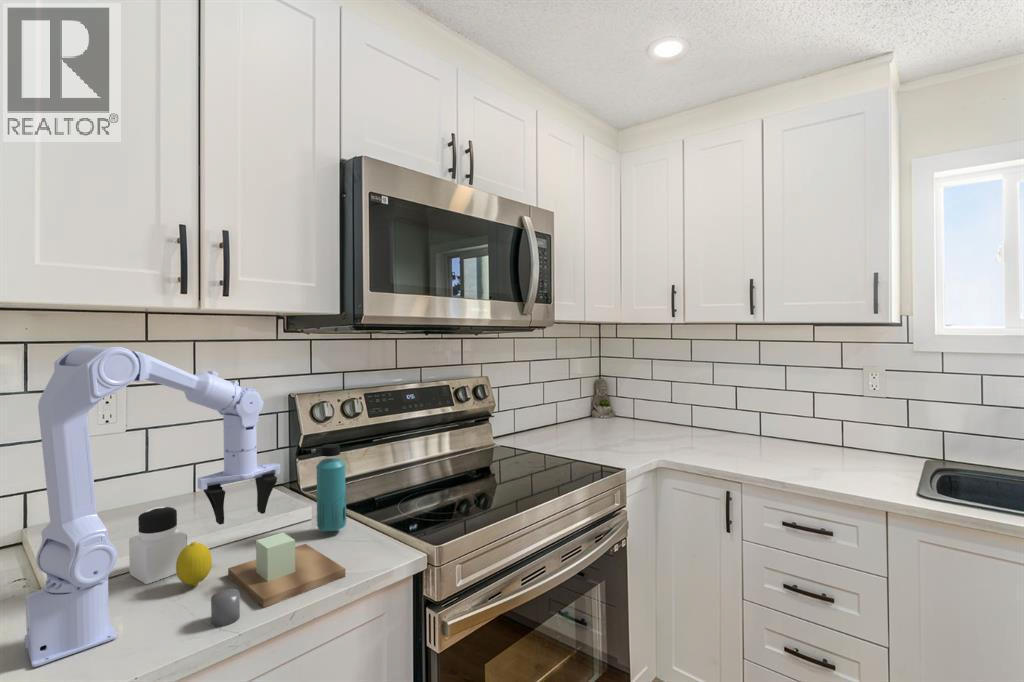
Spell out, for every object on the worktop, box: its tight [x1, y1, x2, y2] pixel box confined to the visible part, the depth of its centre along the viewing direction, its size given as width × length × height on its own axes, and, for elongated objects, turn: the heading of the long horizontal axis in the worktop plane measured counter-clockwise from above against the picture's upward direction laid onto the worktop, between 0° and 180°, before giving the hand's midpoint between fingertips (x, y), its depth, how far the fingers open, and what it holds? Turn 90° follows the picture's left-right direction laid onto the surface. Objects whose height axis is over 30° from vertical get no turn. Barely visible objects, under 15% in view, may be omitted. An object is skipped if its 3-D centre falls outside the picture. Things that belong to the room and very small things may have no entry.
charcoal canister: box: [210, 588, 241, 628], centre depth 84 cm, size 4×4×4 cm
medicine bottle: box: [128, 506, 188, 585], centre depth 100 cm, size 7×7×12 cm
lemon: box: [176, 541, 213, 587], centre depth 95 cm, size 6×6×8 cm
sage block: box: [255, 532, 296, 581], centre depth 97 cm, size 5×5×6 cm
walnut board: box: [227, 543, 346, 609], centre depth 99 cm, size 15×16×2 cm
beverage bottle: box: [315, 443, 348, 532], centre depth 119 cm, size 6×7×20 cm
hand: (241, 517), depth 103 cm, fingers open, 7 cm apart
